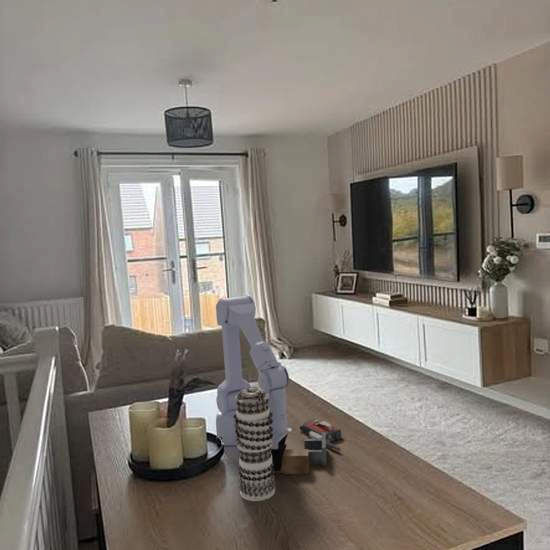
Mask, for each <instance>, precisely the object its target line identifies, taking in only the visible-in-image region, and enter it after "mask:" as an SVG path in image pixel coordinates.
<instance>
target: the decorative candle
mask: <svg viewBox="0 0 550 550" xmlns="http://www.w3.org/2000/svg"><path fill="white" fill-rule="evenodd" d="M268 397H269V394H267V393H265V391H264V390H263V389H261V388H260V387H259V386H257V387H255V386H251V387H249V388H245V389H242V390H241V391H240V392H239V393H238V395H237V396H235V400H236V401H237V410H236V414H235V415H234V416H233V418H234V419H235V425H234V426H235V427H236V430H235V433H236V435H237V436H236V437H237V438H236V441H237V443H238V444H237V445H236V447H237V449H238V451H239V452H238V453H239V457H238V458H239V459H238V461H239V463H238V465H237V468H238V475H239V478H238V482H239V485H238V486H239V487H238V488H239V490H240V492H239V495H240V497H241V498H243V499H244V500H246V501H251V502H261V501H266V500H268V499H270V498H272V497H273V495H274V494H276V486H275V485H276V483H275V481H276V480H275V478H276V477H275V474H274V469H273V467H274V466H273V465H274V463H273V461H272V454H271V446H272V440H271V438H272V437H273V434H272V433H270V432H272V431H273V428H272V427H271V426H269V425H270V424H272V423H273V420H272V419H271V417H272V416H273V413H272V412H270V411H269V406H268ZM236 416H237V417H236ZM268 416H269V417H268ZM237 424H238V425H237ZM238 430H239V432H238ZM271 470H272V471H271ZM265 499H266V500H265Z"/></svg>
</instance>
